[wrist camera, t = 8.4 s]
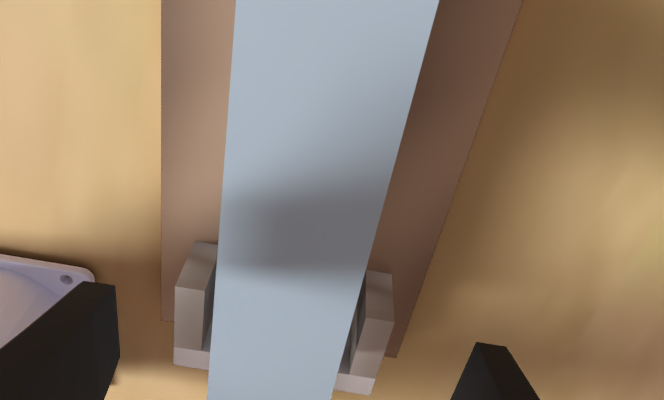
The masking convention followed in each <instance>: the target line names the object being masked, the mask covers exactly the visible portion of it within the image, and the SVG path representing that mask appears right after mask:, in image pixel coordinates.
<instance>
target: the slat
mask: <svg viewBox="0 0 664 400" xmlns="http://www.w3.org/2000/svg"><path fill="white" fill-rule="evenodd" d="M438 3H439V0H236V9H235V23H234V36H233V50H232V63H231V77H230V90H229V104H228V118H227V131H226V145H225V158H224V172H223V185H222V199H221V213H220V226H219V240H218V253H217V267H216V281H215V294H214V308H213V321H212V335H211V348H210V362H209V376H208V389H207V400H330V399H331V396H332V392H333V388H334V385H335V381H336V377H337V374H338V370H339V366H340V363H341V359H342V355H343V352H344V348H345V344H346V341H347V337H348V333H349V330H350V326H351V322H352V319H353V315H354V311H355V308H356V304H357V300H358V297H359V293H360V289H361V286H362V282H363V278H364V275H365V271H366V267H367V264H368V260H369V256H370V253H371V249H372V245H373V242H374V238H375V234H376V230H377V227H378V223H379V219H380V216H381V212H382V208H383V205H384V201H385V197H386V194H387V190H388V186H389V183H390V179H391V175H392V172H393V168H394V164H395V161H396V157H397V153H398V150H399V146H400V142H401V139H402V135H403V131H404V128H405V124H406V120H407V117H408V113H409V109H410V106H411V102H412V98H413V95H414V91H415V87H416V84H417V80H418V76H419V73H420V69H421V65H422V62H423V58H424V54H425V51H426V47H427V43H428V40H429V36H430V32H431V29H432V25H433V21H434V18H435V14H436V10H437V7H438Z"/></svg>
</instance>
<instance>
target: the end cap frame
mask: <svg viewBox="0 0 664 400" xmlns="http://www.w3.org/2000/svg"><path fill="white" fill-rule="evenodd" d="M522 2H523V0H439V3H438V7H437V10H436V14H435V18H434V21H433V25H432V29H431V32H430V36H429V40H428V43H427V47H426V51H425V54H424V58H423V62H422V65H421V69H420V73H419V76H418V80H417V84H416V87H415V91H414V95H413V98H412V102H411V106H410V109H409V113H408V117H407V120H406V124H405V128H404V131H403V135H402V139H401V142H400V146H399V150H398V153H397V157H396V161H395V164H394V168H393V172H392V175H391V179H390V183H389V186H388V190H387V194H386V197H385V201H384V205H383V208H382V212H381V216H380V219H379V223H378V227H377V230H376V234H375V238H374V242H373V245H372V249H371V253H370V256H369V260H368V264H367V267H366V271H365V275H364V278H363V282H362V286H361V289H360V293H359V297H358V300H357V304H356V308H355V311H354V315H353V319H352V322H351V326H350V330H349V333H348V337H347V341H346V344H345V348H344V352H343V355H342V359H341V363H340V366H339V370H338V374H337V377H336V381H335V385H334V388H333V390H336V391H343V392H349V393H355V394H362V395H368V396H370V394H371V391H372V388H373V386H374V383H375V380H376V377H377V374H378V371H379V368H380V365H381V362H382V359H383V356H387V357H393V358H396V357H397V354H398V351H399V348H400V346H401V343H402V340H403V337H404V334H405V332H406V329H407V326H408V323H409V320H410V317H411V315H412V312H413V309H414V306H415V303H416V300H417V298H418V295H419V292H420V289H421V286H422V284H423V281H424V278H425V275H426V272H427V269H428V267H429V264H430V261H431V258H432V255H433V253H434V250H435V247H436V244H437V241H438V238H439V236H440V233H441V230H442V227H443V224H444V222H445V219H446V216H447V213H448V210H449V207H450V205H451V202H452V199H453V196H454V193H455V191H456V188H457V185H458V182H459V179H460V176H461V174H462V171H463V168H464V165H465V162H466V160H467V157H468V154H469V151H470V148H471V145H472V143H473V140H474V137H475V134H476V131H477V128H478V126H479V123H480V120H481V117H482V114H483V112H484V109H485V106H486V103H487V100H488V97H489V95H490V92H491V89H492V86H493V83H494V81H495V78H496V75H497V72H498V69H499V66H500V64H501V61H502V58H503V55H504V52H505V50H506V47H507V44H508V41H509V38H510V35H511V33H512V30H513V27H514V24H515V21H516V19H517V16H518V13H519V10H520V7H521V4H522ZM235 9H236V0H161V320H163V321H170V322H174V363H173V365H177V366H184V367H190V368H197V369H203V370H209V362H210V348H211V335H212V321H213V308H214V294H215V281H216V267H217V253H218V240H219V226H220V213H221V199H222V185H223V172H224V158H225V145H226V131H227V118H228V104H229V90H230V77H231V63H232V50H233V36H234V23H235Z"/></svg>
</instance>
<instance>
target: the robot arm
mask: <svg viewBox="0 0 664 400" xmlns="http://www.w3.org/2000/svg"><path fill="white" fill-rule="evenodd" d="M66 275H67V276H69V277H71V278H69V277H67V276H66ZM119 358H120V347H119V333H118V319H117V306H116V292H115V286H114V285H108V284H102V283H95V278H94V275H93V274H92V273H91V272H90V271H89V270H88V269H86V268H82V267H76V266H70V265H64V264H58V263H52V262H46V261H40V260H34V259H28V258H22V257H16V256H10V255H4V254H0V400H104V398H105V396H106V393H107V391H108V388H109V385H110V383H111V380H112V377H113V375H114V372H115V369H116V366H117V364H118V361H119ZM450 400H540V399H539V397H538V396H537V394H536V393H535V391H534V390H533V388H532V386H531V385H530V383H529V382H528V380H527V379H526V377H525V375H524V374H523V372H522V371H521V369H520V368H519V366H518V365H517V363H516V361H515V360H514V358H513V357H512V355H511V354H510V352H509V351H508V349H507V348H506V347H504V346H498V345H491V344H485V343H478V342H476V344H475V346H474V348H473V351H472V353H471V355H470V357H469V359H468V362H467V364H466V366H465V368H464V371H463V373H462V375H461V377H460V379H459V382H458V384H457V386H456V388H455V391H454V393H453V395H452V397H451V399H450Z"/></svg>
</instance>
